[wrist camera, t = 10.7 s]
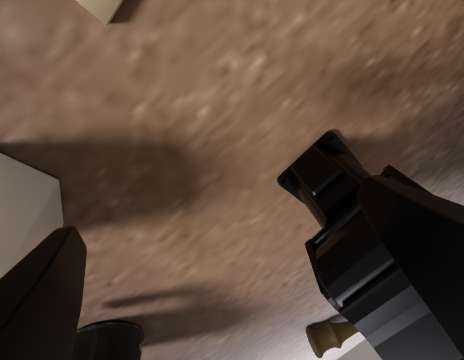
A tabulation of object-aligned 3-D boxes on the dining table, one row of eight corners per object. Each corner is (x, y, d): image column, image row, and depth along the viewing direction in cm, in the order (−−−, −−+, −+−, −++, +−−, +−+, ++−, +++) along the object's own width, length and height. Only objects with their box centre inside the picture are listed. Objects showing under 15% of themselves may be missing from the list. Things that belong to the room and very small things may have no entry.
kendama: (298, 317, 45) (405, 275, 43) (306, 333, 51) (400, 297, 50) (313, 356, 40) (433, 310, 39) (321, 368, 46) (424, 329, 45)
